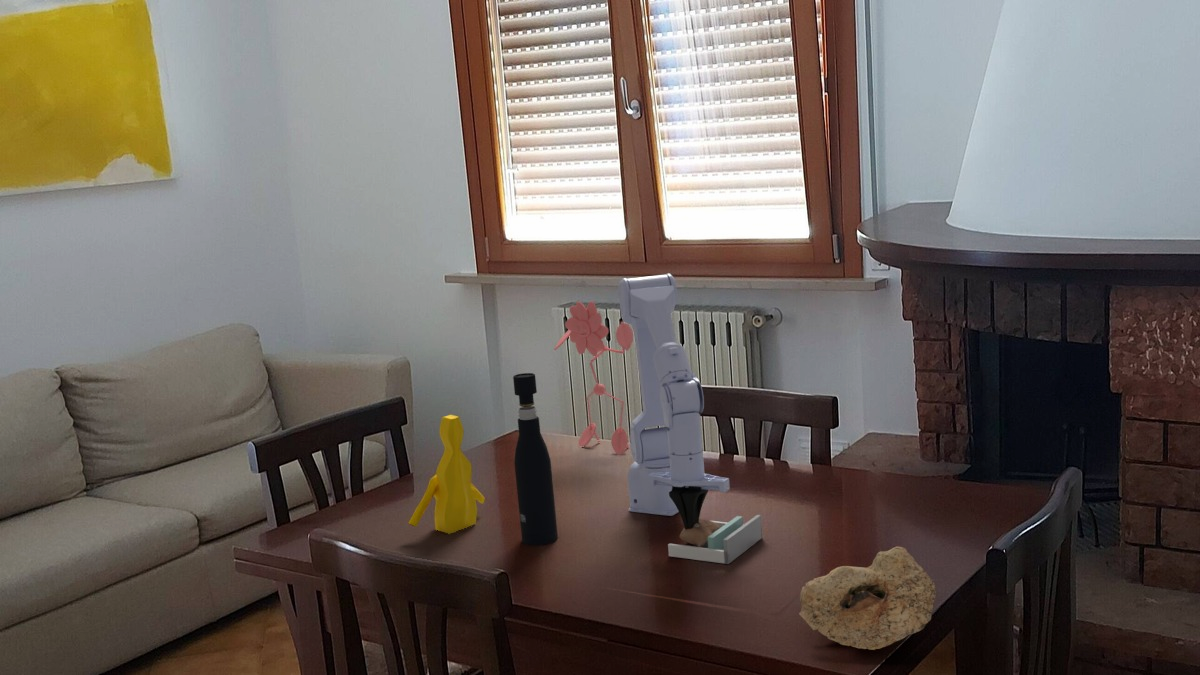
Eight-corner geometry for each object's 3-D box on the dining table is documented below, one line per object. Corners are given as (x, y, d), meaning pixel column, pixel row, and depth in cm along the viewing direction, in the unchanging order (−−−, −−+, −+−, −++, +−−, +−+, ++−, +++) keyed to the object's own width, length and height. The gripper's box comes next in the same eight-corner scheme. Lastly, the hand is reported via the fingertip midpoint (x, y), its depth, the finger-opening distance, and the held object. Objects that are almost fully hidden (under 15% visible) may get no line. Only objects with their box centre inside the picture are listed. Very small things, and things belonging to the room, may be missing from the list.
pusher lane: (668, 556, 194) (667, 533, 193) (705, 530, 205) (703, 508, 204) (728, 564, 188) (726, 540, 187) (762, 537, 199) (761, 515, 198)
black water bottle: (563, 534, 209) (547, 371, 204) (550, 546, 203) (534, 378, 198) (530, 533, 211) (514, 371, 207) (516, 545, 205) (499, 379, 201)
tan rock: (854, 697, 153) (843, 657, 149) (795, 632, 165) (784, 594, 161) (965, 630, 157) (957, 589, 153) (899, 571, 169) (891, 532, 165)
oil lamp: (670, 555, 196) (712, 562, 192) (667, 534, 195) (709, 540, 191) (694, 531, 203) (735, 537, 199) (691, 510, 202) (733, 516, 198)
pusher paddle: (709, 557, 191) (707, 537, 190) (738, 535, 200) (737, 516, 199) (714, 558, 190) (713, 537, 190) (743, 536, 199) (742, 516, 199)
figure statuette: (479, 513, 226) (467, 402, 223) (505, 519, 221) (493, 406, 217) (404, 539, 214) (390, 423, 210) (429, 547, 208) (416, 428, 205)
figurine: (579, 441, 275) (566, 294, 269) (659, 456, 256) (647, 298, 250) (530, 457, 264) (515, 304, 259) (609, 473, 246) (595, 309, 240)
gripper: (636, 454, 196) (643, 531, 198) (713, 460, 189) (719, 540, 191) (657, 444, 202) (663, 519, 204) (732, 449, 194) (738, 527, 196)
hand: (691, 528), depth 198 cm, fingers closed, pressing on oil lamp
